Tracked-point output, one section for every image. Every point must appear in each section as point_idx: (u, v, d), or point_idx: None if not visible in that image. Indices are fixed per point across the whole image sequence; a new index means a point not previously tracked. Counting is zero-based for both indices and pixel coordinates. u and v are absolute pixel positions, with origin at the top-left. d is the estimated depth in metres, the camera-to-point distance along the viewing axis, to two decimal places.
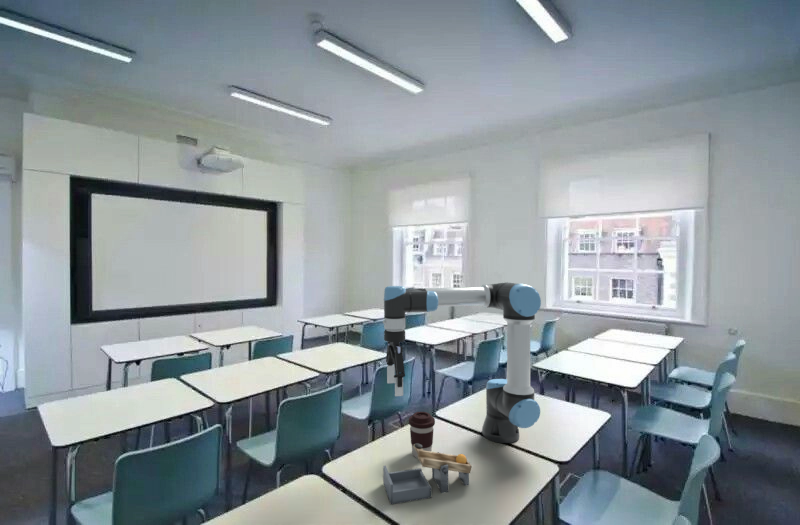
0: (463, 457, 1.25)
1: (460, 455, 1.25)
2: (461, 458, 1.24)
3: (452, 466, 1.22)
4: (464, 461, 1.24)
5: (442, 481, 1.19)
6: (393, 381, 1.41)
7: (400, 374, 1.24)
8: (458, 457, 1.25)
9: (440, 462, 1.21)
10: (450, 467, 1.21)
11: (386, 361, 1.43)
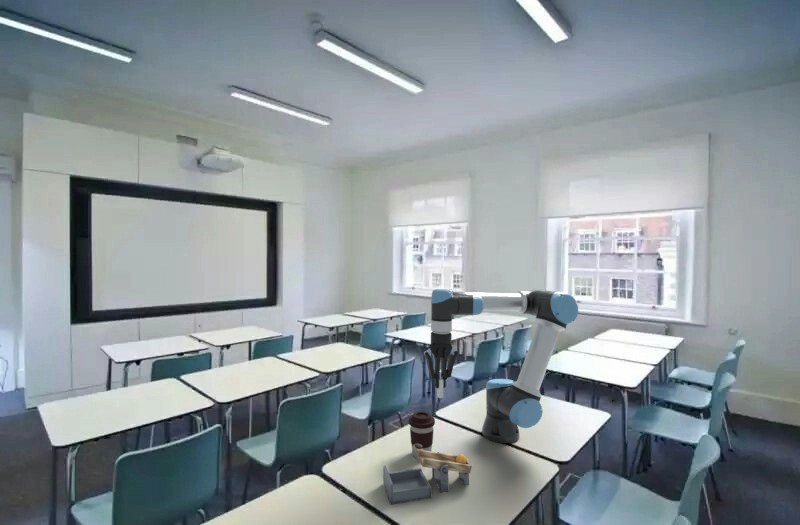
0: (463, 457, 1.25)
1: (460, 455, 1.25)
2: (461, 458, 1.24)
3: (452, 466, 1.22)
4: (464, 461, 1.24)
5: (442, 481, 1.19)
6: None
7: (430, 374, 1.36)
8: (458, 457, 1.25)
9: (440, 462, 1.21)
10: (450, 467, 1.21)
11: None
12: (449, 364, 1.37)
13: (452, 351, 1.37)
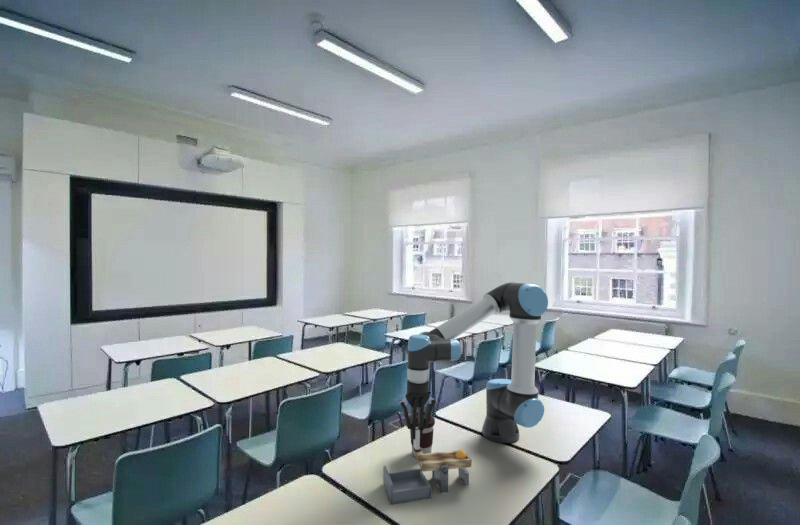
0: (462, 452, 1.25)
1: (458, 451, 1.25)
2: (459, 454, 1.24)
3: (452, 464, 1.22)
4: (463, 456, 1.24)
5: (442, 481, 1.19)
6: None
7: (406, 424, 1.31)
8: (457, 453, 1.25)
9: (439, 463, 1.20)
10: (450, 465, 1.21)
11: (422, 423, 1.33)
12: (426, 413, 1.32)
13: (429, 400, 1.32)
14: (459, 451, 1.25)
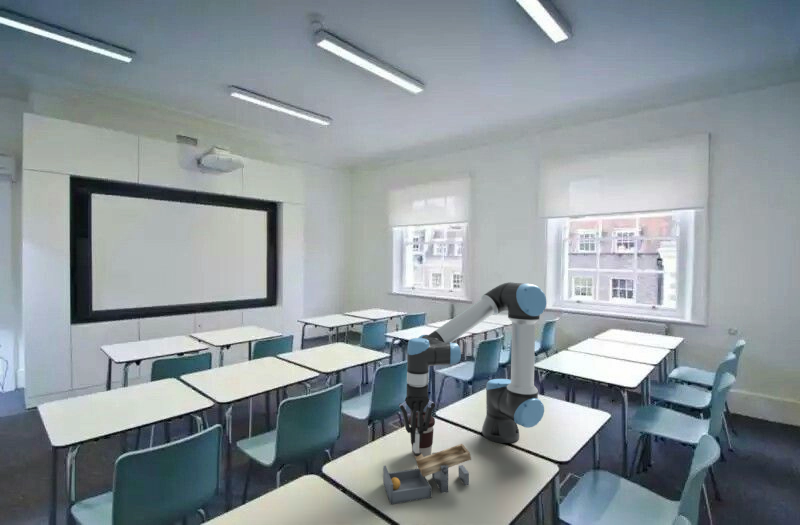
0: None
1: None
2: None
3: (451, 462, 1.21)
4: (395, 485, 1.19)
5: (442, 481, 1.19)
6: None
7: (406, 428, 1.31)
8: None
9: (438, 464, 1.20)
10: (449, 464, 1.21)
11: None
12: (426, 417, 1.32)
13: (429, 403, 1.32)
14: None
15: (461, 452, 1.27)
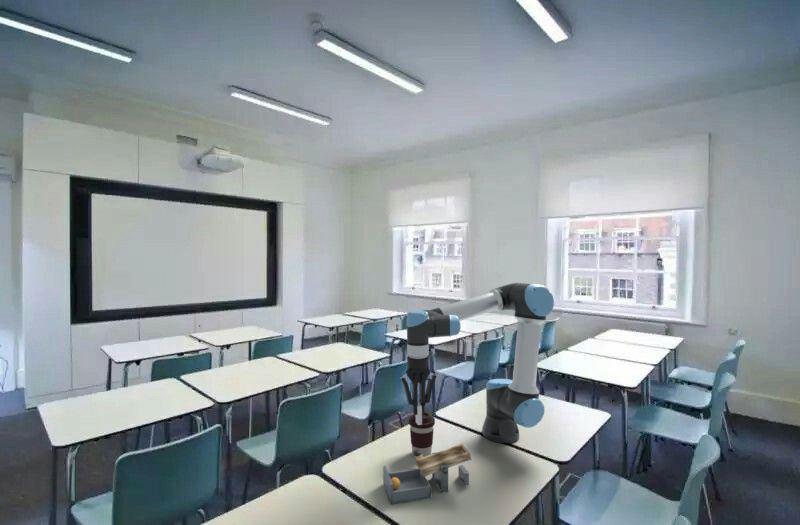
0: None
1: None
2: None
3: (451, 462, 1.21)
4: (395, 485, 1.18)
5: (442, 481, 1.19)
6: None
7: (408, 400, 1.31)
8: None
9: (438, 464, 1.20)
10: (449, 464, 1.21)
11: None
12: (427, 389, 1.32)
13: (430, 375, 1.32)
14: None
15: (461, 452, 1.27)
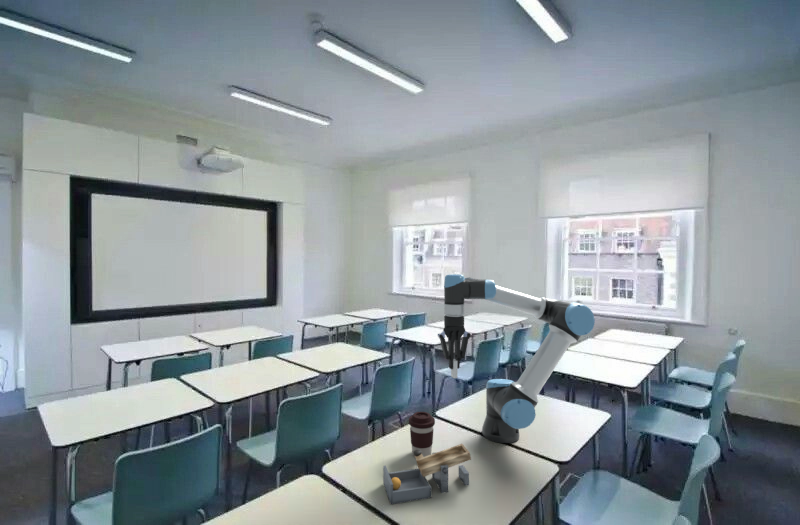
0: None
1: None
2: None
3: (451, 462, 1.21)
4: (396, 485, 1.19)
5: (442, 481, 1.19)
6: None
7: (444, 356, 1.43)
8: None
9: (438, 464, 1.20)
10: (449, 464, 1.21)
11: None
12: (462, 346, 1.44)
13: (465, 333, 1.44)
14: None
15: (461, 452, 1.27)
